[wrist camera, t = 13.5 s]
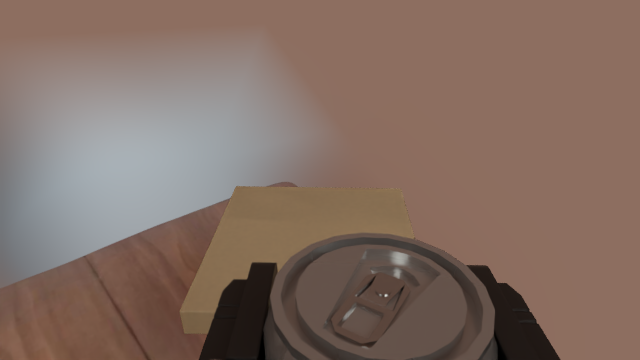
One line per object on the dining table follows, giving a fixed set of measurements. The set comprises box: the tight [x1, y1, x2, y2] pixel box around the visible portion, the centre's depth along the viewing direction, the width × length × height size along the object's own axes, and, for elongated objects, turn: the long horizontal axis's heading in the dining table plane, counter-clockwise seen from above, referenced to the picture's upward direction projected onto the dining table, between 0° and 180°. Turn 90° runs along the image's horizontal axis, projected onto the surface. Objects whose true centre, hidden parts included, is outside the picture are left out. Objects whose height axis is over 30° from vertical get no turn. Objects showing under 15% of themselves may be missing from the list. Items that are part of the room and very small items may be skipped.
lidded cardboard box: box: [180, 186, 415, 334], centre depth 39 cm, size 20×16×20 cm
